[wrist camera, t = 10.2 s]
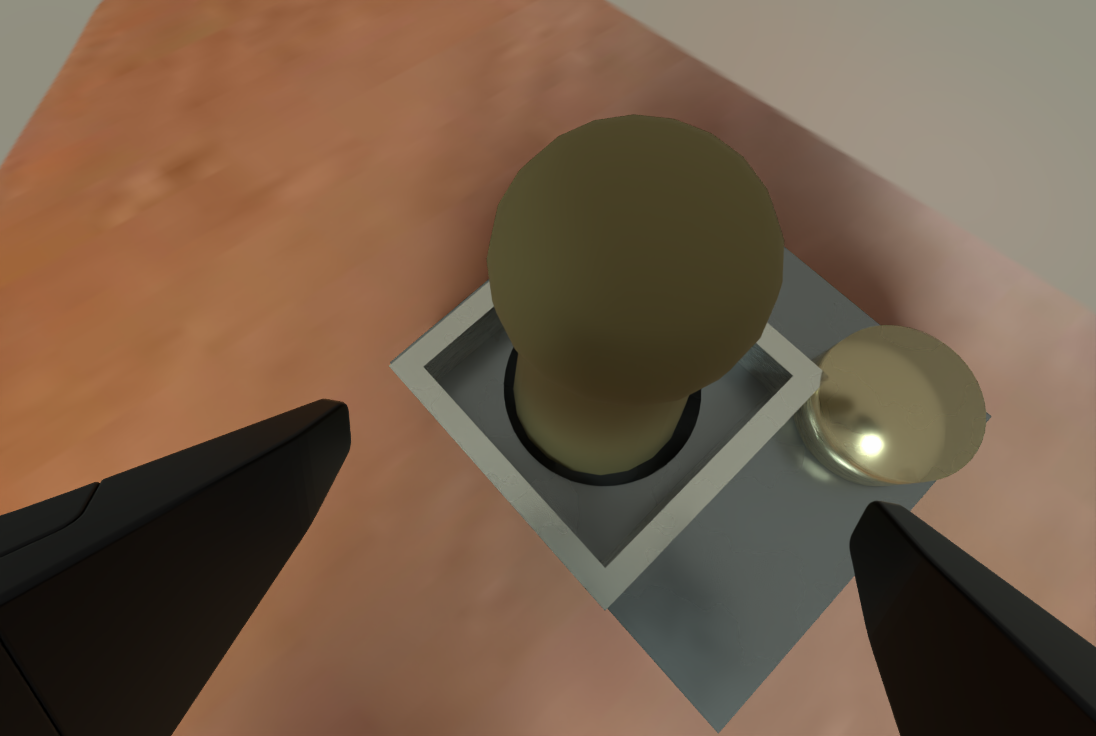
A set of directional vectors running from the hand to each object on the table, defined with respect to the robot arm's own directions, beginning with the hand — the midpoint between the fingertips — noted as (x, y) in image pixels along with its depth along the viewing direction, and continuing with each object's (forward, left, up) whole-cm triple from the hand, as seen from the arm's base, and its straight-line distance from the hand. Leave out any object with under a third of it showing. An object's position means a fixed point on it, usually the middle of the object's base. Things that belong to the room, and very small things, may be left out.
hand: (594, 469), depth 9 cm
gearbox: (0, -5, -12) cm, 13 cm away
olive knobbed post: (+2, -3, -9) cm, 10 cm away
